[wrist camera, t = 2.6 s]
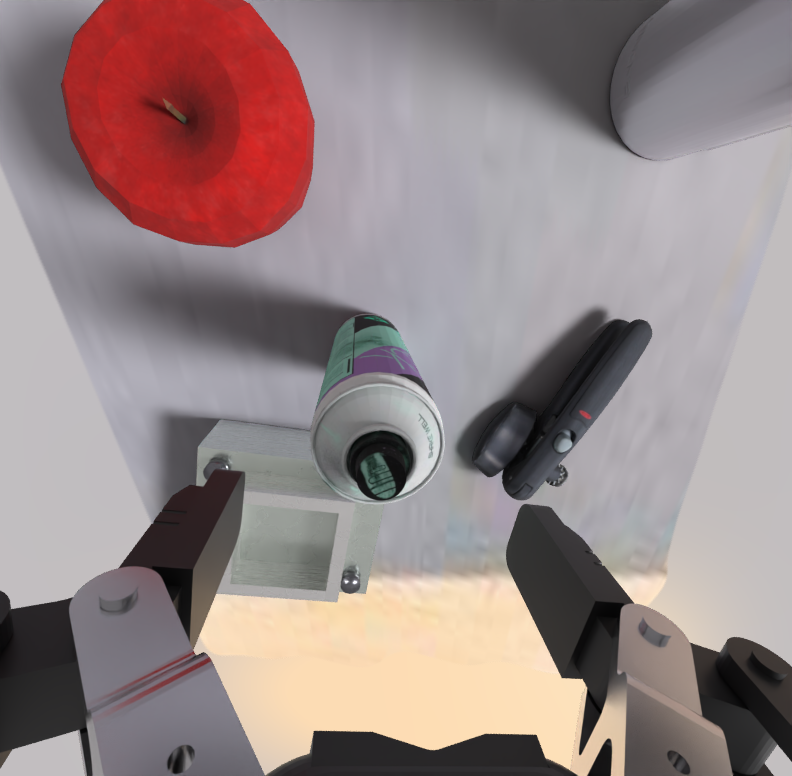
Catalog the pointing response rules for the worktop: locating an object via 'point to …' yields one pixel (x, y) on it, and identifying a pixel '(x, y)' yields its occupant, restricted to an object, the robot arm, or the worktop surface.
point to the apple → (190, 118)
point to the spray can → (374, 417)
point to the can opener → (559, 415)
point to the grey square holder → (289, 517)
